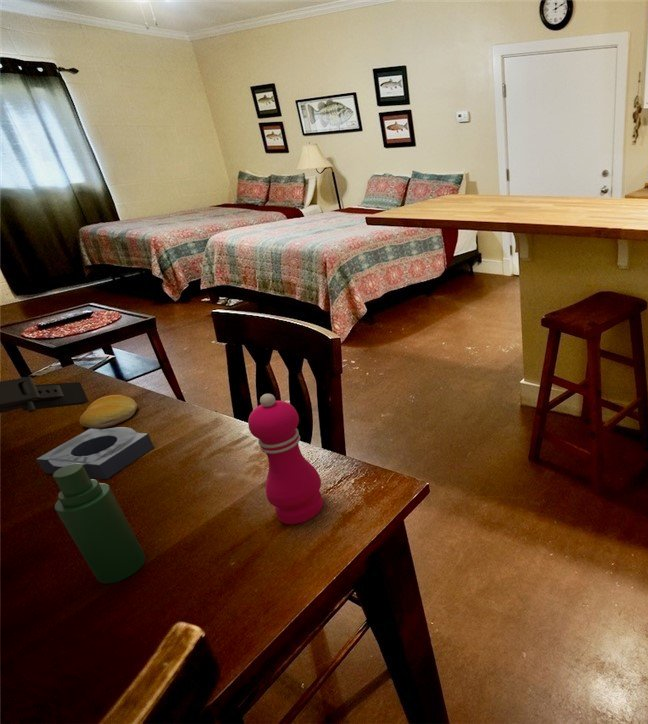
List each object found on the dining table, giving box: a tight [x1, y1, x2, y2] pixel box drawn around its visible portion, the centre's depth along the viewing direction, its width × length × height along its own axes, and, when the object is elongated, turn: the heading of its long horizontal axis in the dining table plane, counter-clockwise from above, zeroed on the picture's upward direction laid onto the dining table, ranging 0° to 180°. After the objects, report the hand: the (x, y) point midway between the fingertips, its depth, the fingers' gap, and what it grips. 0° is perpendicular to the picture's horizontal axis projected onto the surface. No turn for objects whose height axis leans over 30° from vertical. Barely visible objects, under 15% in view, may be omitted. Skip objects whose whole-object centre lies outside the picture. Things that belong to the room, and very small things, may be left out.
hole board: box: [36, 426, 155, 480], centre depth 82 cm, size 12×11×3 cm
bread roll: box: [79, 394, 138, 429], centre depth 94 cm, size 8×9×4 cm
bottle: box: [52, 463, 147, 585], centre depth 58 cm, size 5×5×16 cm
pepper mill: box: [247, 393, 324, 525], centre depth 67 cm, size 7×7×20 cm
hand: (36, 414), depth 59 cm, fingers open, 13 cm apart
